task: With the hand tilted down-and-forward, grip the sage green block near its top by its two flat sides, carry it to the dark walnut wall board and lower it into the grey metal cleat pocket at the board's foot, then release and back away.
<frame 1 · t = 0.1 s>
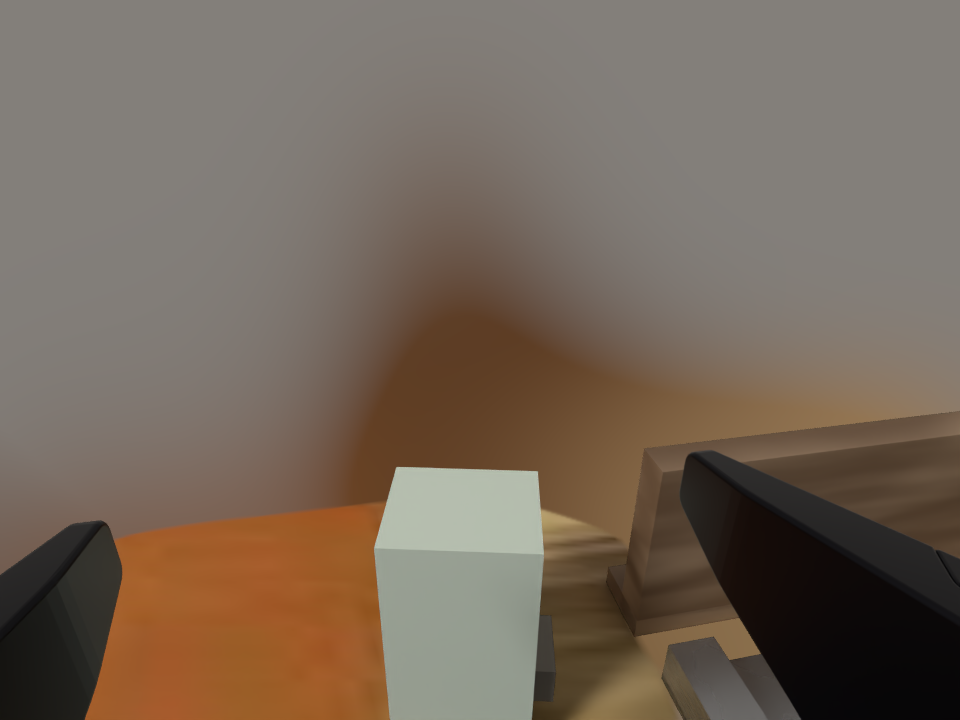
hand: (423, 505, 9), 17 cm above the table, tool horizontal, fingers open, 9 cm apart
sage green block: (464, 704, 24), on the table
wall board: (799, 591, 29), on the table
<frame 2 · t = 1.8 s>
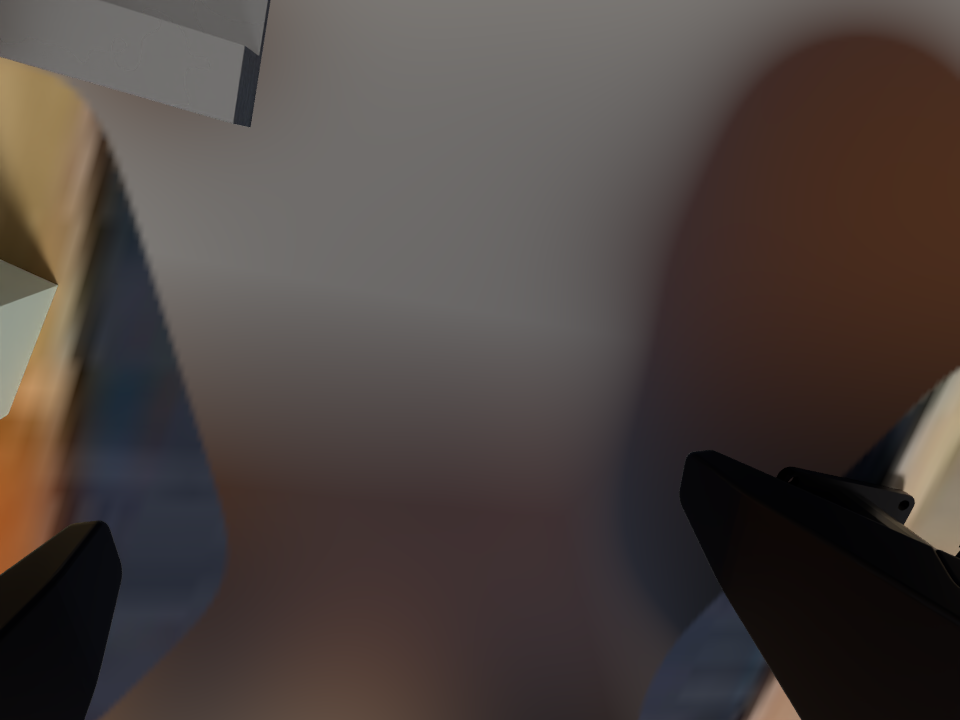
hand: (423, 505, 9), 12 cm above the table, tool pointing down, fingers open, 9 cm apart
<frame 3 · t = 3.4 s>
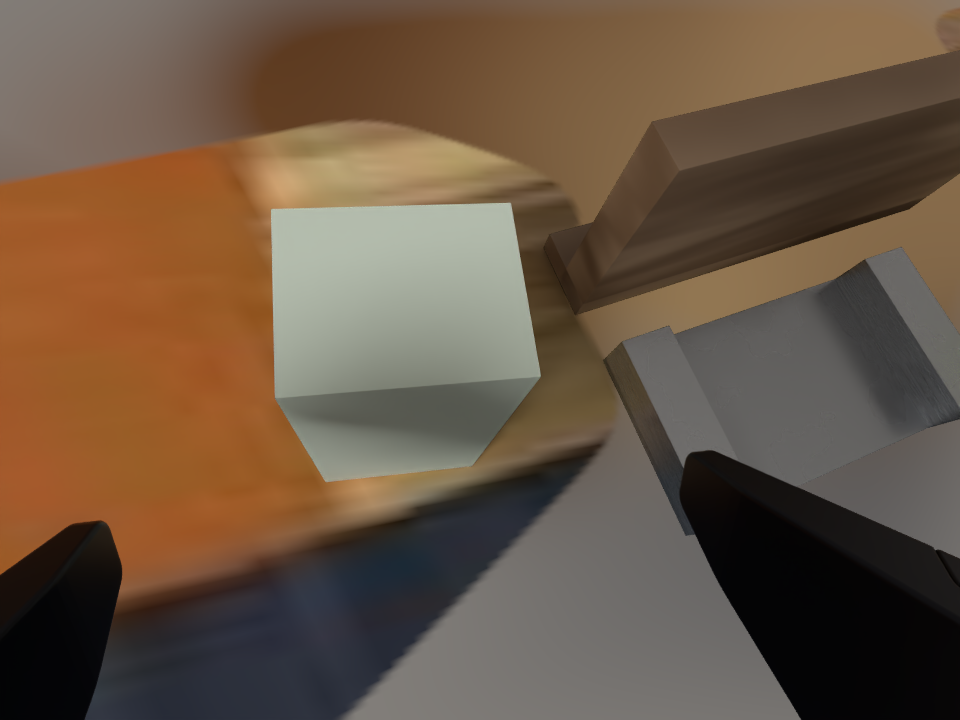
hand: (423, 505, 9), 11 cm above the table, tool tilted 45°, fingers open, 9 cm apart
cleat: (785, 388, 24), on the table
sage green block: (395, 417, 21), on the table
wall board: (748, 241, 26), on the table
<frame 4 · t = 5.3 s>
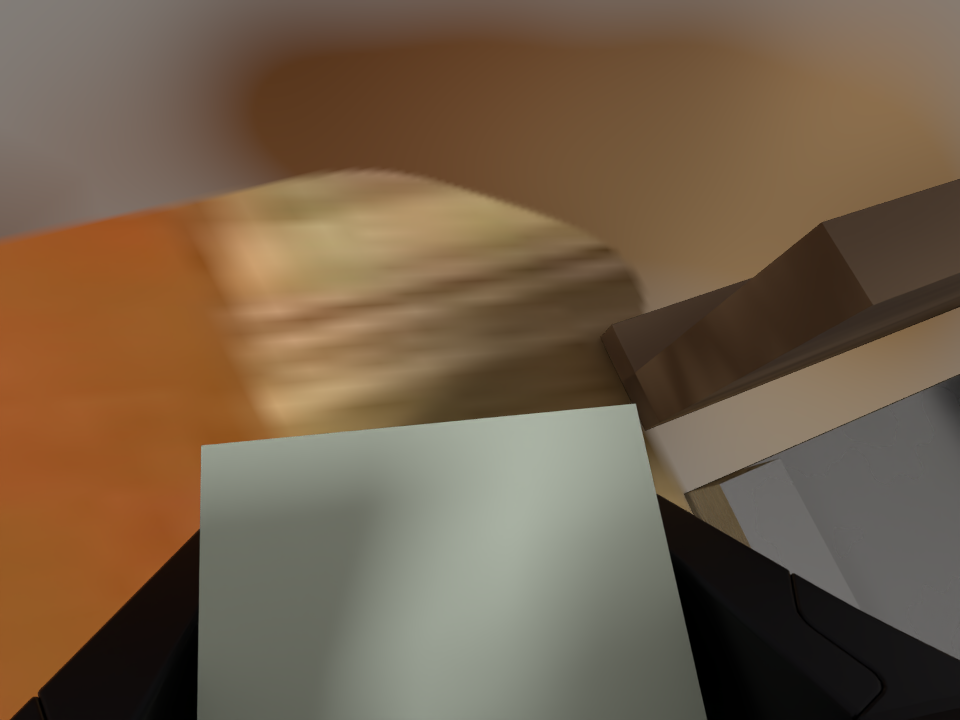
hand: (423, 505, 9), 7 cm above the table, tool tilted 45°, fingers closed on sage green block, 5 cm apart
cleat: (918, 523, 18), on the table
sage green block: (411, 589, 16), on the table, touching gripper
wall board: (856, 322, 20), on the table
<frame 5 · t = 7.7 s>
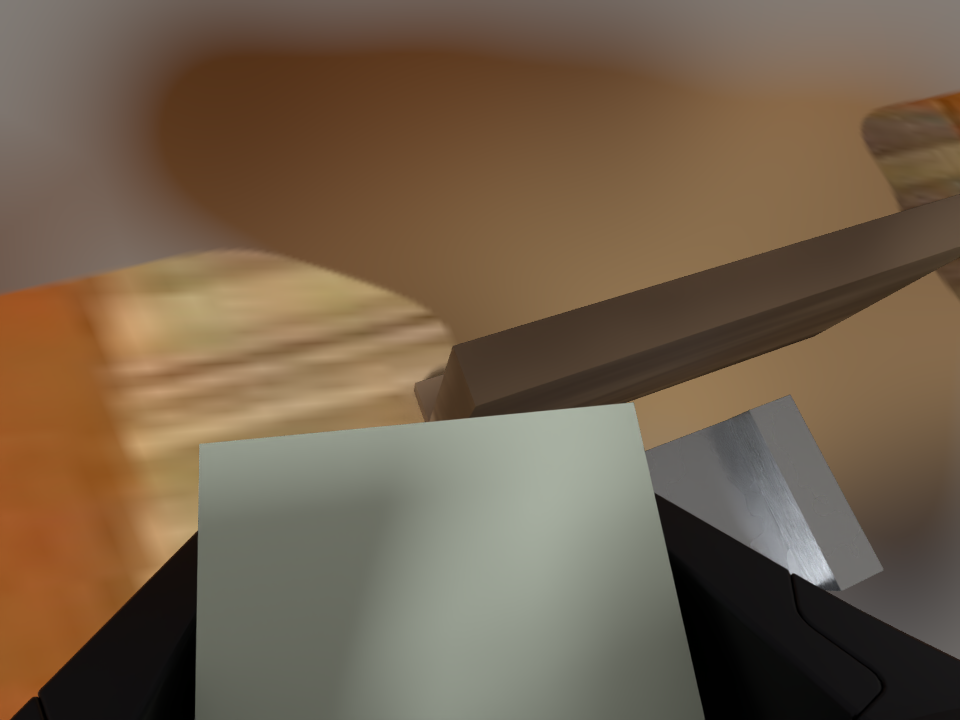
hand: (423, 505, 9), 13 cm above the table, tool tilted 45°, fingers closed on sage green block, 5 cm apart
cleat: (661, 545, 23), on the table
sage green block: (411, 588, 16), point 6 cm above the table, touching gripper
wall board: (636, 378, 25), on the table
when the fingers open (9 cm above the table, at t = 10.2 s): sage green block drops 1 cm, resting on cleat.
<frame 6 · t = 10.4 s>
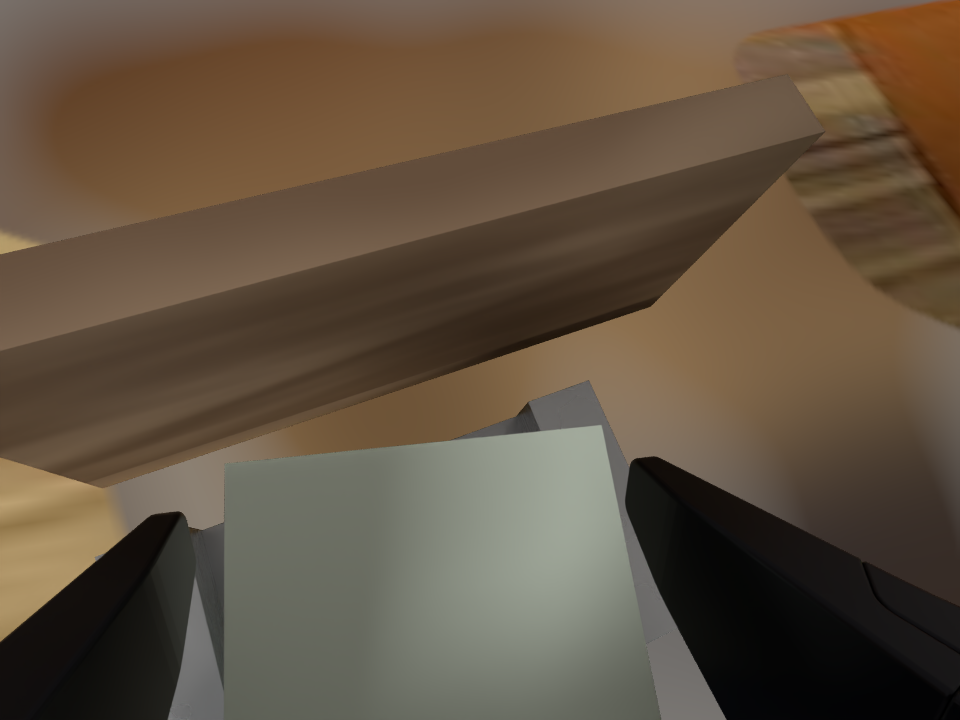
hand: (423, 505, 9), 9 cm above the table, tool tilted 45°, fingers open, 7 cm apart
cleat: (409, 587, 17), on the table
sage green block: (408, 587, 17), resting on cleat
wall board: (401, 363, 19), on the table
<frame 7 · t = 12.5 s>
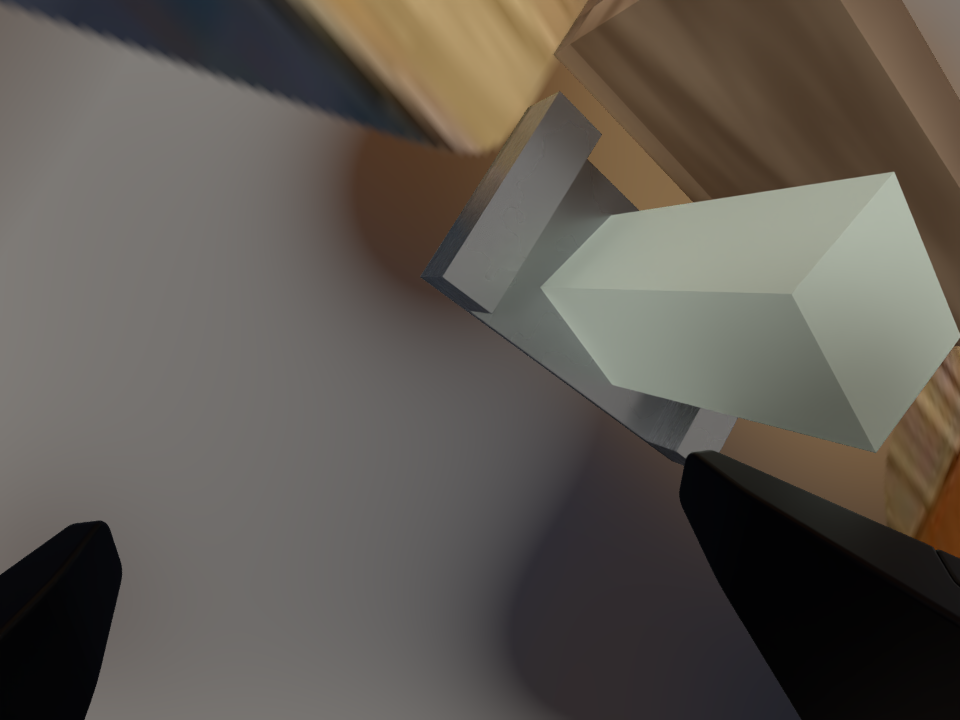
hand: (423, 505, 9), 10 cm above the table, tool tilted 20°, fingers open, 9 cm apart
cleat: (607, 302, 23), on the table
sage green block: (611, 301, 23), resting on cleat
wall board: (715, 199, 24), on the table
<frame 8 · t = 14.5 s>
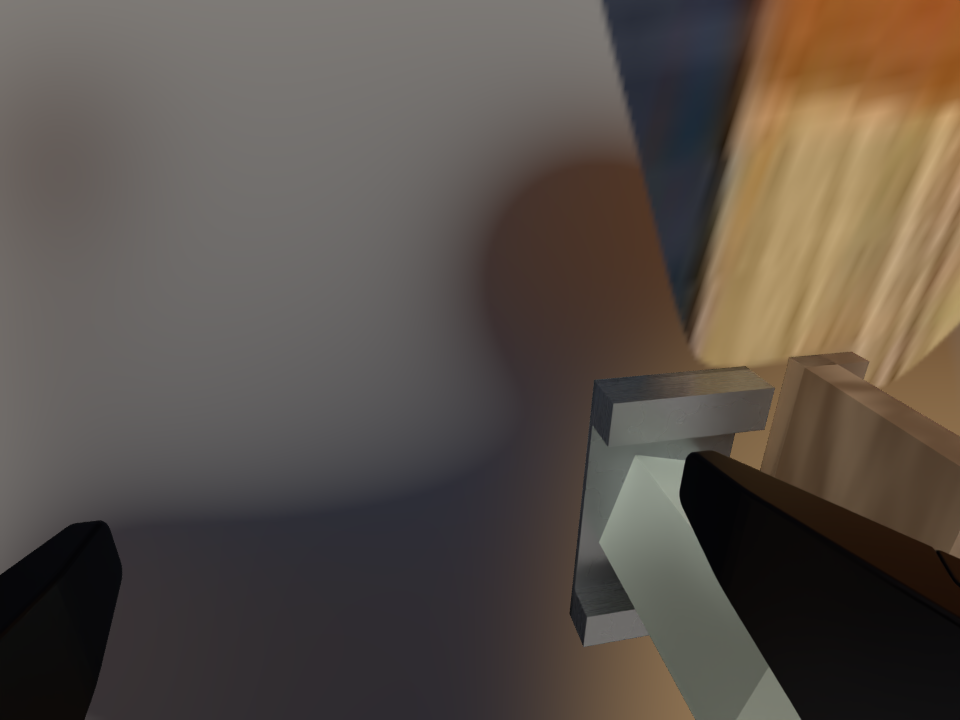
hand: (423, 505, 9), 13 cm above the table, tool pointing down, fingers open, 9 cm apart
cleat: (650, 499, 28), on the table
sage green block: (654, 503, 28), resting on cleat
wall board: (761, 516, 30), on the table
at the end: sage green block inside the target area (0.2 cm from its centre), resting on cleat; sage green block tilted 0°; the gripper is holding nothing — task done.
